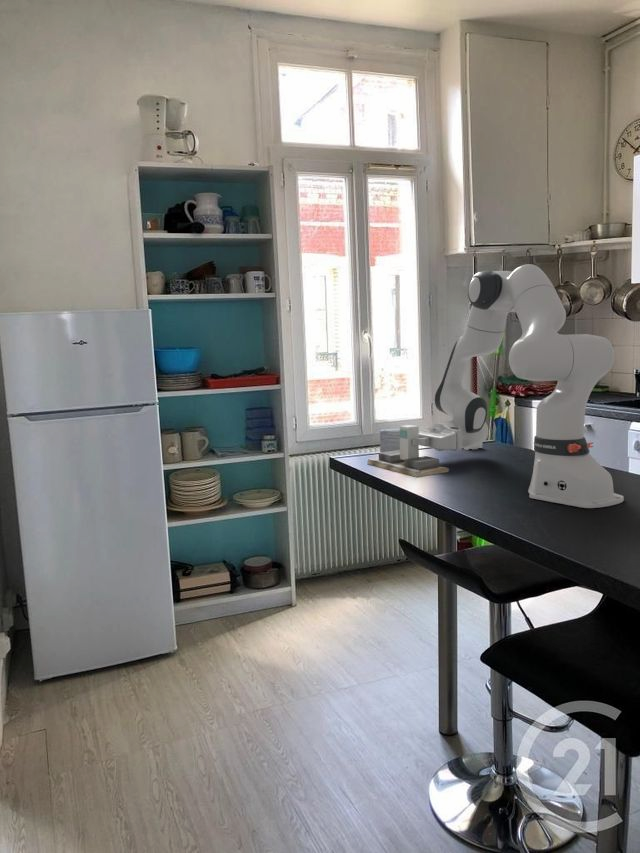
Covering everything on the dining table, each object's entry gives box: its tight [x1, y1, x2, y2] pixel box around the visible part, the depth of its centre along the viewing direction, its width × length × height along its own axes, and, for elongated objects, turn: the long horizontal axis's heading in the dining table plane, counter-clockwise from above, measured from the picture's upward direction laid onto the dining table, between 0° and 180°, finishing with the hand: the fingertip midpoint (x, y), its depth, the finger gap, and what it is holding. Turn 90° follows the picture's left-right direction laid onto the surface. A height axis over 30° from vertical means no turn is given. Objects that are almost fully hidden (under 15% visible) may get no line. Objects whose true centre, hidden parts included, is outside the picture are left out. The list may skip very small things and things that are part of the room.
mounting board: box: [367, 450, 450, 478], centre depth 208 cm, size 24×12×4 cm, turn 31°
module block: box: [399, 424, 420, 460], centre depth 208 cm, size 4×4×10 cm
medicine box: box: [379, 428, 400, 453], centre depth 227 cm, size 8×4×9 cm, turn 84°
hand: (406, 441), depth 208 cm, fingers closed on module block, 4 cm apart
